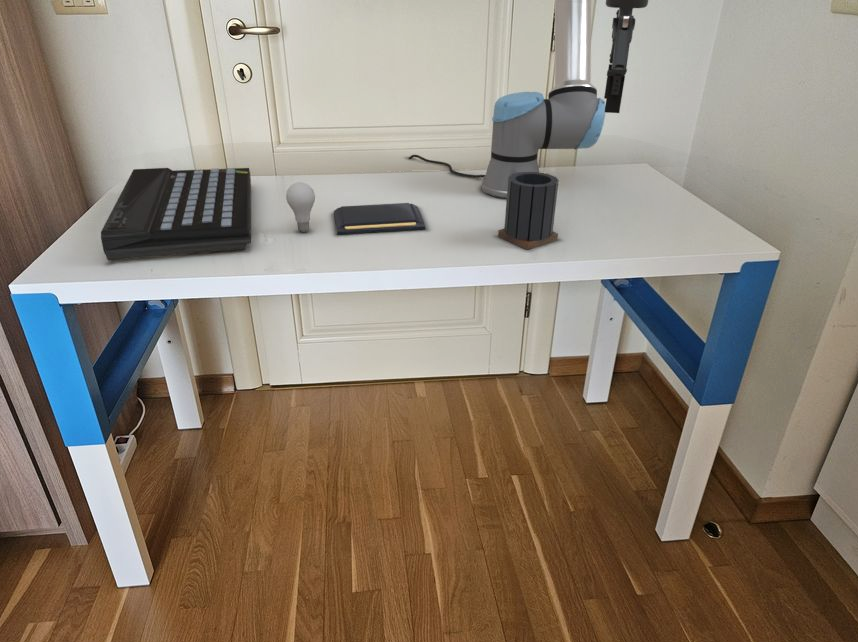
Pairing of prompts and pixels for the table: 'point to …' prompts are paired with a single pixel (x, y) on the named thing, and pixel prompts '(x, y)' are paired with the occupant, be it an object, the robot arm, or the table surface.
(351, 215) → the wallet
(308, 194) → the lightbulb
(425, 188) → the table surface
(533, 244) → the peg
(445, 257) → the table surface
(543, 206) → the ribbed pencil cup
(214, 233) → the computer keyboard
